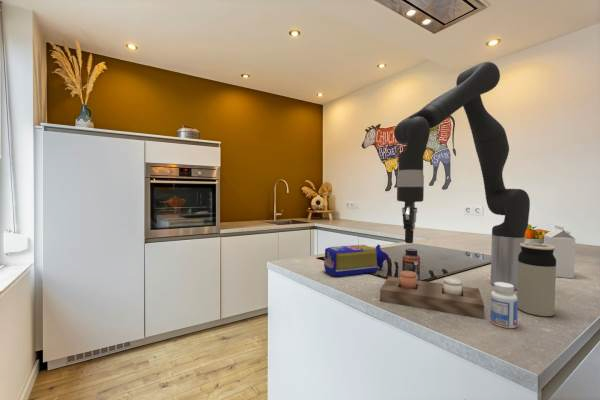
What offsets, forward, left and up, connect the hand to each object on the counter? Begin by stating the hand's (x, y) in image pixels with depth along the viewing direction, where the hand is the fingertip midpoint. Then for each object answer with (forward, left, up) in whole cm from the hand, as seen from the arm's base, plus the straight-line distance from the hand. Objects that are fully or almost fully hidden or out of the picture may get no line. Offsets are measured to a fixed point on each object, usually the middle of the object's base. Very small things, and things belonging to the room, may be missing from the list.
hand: (409, 242), depth 88 cm
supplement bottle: (+1, -18, -17) cm, 25 cm away
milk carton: (-49, -51, -17) cm, 73 cm away
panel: (-6, 0, -17) cm, 18 cm away
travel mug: (-32, -5, -17) cm, 36 cm away
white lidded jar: (-12, 0, -15) cm, 19 cm away
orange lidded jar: (0, 0, -14) cm, 14 cm away
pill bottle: (-23, +8, -17) cm, 30 cm away
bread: (+22, -20, -17) cm, 34 cm away
